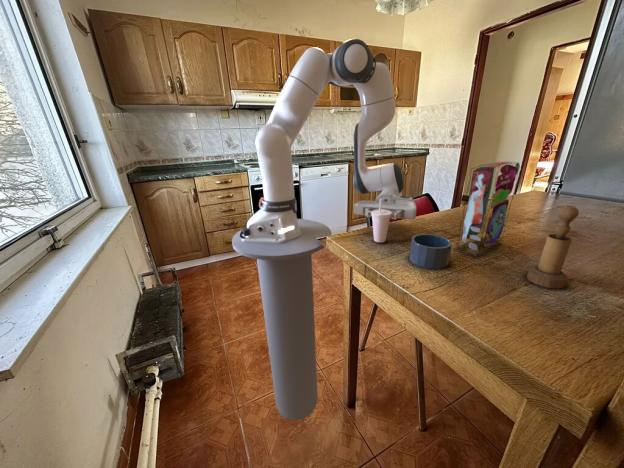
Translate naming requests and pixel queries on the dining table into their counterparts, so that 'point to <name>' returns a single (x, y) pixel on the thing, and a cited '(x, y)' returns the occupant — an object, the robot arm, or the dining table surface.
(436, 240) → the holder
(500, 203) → the box
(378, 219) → the smoothie
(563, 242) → the mortar and pestle
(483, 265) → the dining table surface
